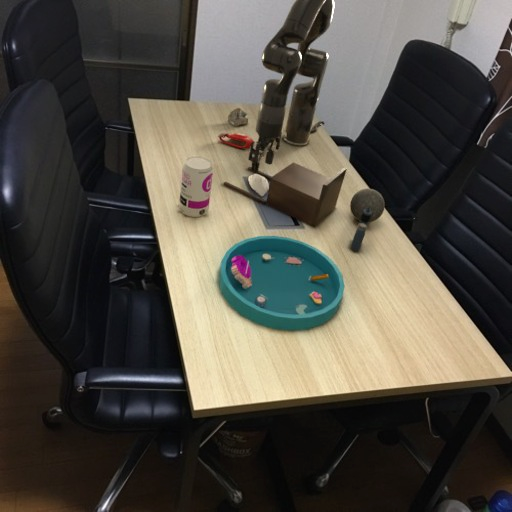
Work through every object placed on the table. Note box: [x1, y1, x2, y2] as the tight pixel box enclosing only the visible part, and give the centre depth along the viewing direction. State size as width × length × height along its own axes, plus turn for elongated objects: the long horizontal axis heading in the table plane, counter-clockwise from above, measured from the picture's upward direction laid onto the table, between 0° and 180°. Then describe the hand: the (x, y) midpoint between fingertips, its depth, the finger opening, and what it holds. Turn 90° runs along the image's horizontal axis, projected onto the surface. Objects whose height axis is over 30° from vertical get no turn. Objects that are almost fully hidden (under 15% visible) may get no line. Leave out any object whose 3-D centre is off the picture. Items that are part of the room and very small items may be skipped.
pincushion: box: [247, 170, 270, 197], centre depth 158 cm, size 12×6×6 cm, turn 12°
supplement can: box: [178, 155, 214, 218], centre depth 139 cm, size 8×8×15 cm
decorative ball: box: [349, 188, 385, 223], centre depth 151 cm, size 10×10×10 cm
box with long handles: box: [223, 162, 347, 228], centre depth 153 cm, size 15×32×14 cm, turn 58°
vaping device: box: [350, 208, 372, 253], centre depth 139 cm, size 3×5×12 cm, turn 161°
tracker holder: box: [217, 132, 254, 150], centre depth 180 cm, size 12×4×10 cm
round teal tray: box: [218, 235, 345, 332], centre depth 122 cm, size 30×30×6 cm
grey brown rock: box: [227, 107, 249, 127], centre depth 192 cm, size 4×8×7 cm, turn 108°
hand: (261, 168), depth 155 cm, fingers open, 8 cm apart
